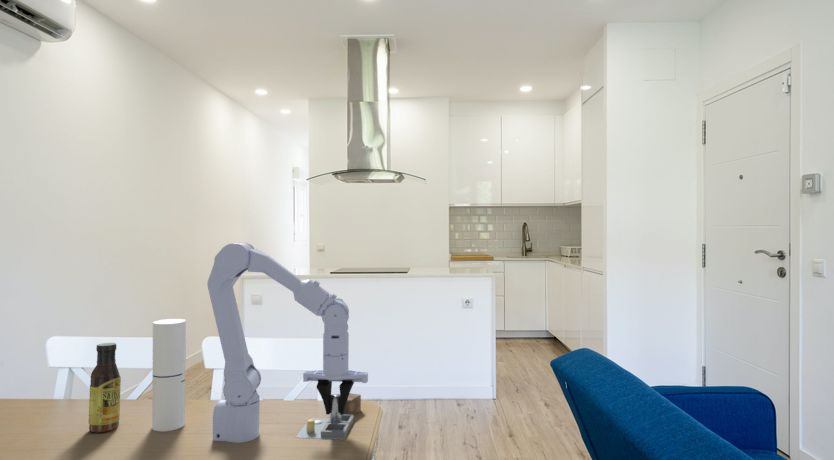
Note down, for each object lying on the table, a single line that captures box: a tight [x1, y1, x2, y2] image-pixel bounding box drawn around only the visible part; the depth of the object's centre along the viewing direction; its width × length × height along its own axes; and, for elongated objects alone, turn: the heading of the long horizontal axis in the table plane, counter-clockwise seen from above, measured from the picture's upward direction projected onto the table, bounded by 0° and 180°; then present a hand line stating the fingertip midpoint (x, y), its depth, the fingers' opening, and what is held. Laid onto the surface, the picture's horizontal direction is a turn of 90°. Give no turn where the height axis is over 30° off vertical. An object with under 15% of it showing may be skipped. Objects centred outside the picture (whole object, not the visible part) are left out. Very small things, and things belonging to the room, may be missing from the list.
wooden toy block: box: [344, 392, 362, 416], centre depth 132 cm, size 5×5×5 cm
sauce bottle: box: [88, 342, 122, 434], centre depth 123 cm, size 6×6×20 cm
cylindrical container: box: [151, 318, 187, 432], centre depth 125 cm, size 7×7×25 cm
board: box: [295, 414, 355, 440], centre depth 121 cm, size 11×12×4 cm
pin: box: [329, 393, 342, 424], centre depth 119 cm, size 3×3×6 cm
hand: (335, 413), depth 118 cm, fingers closed on pin, 3 cm apart
